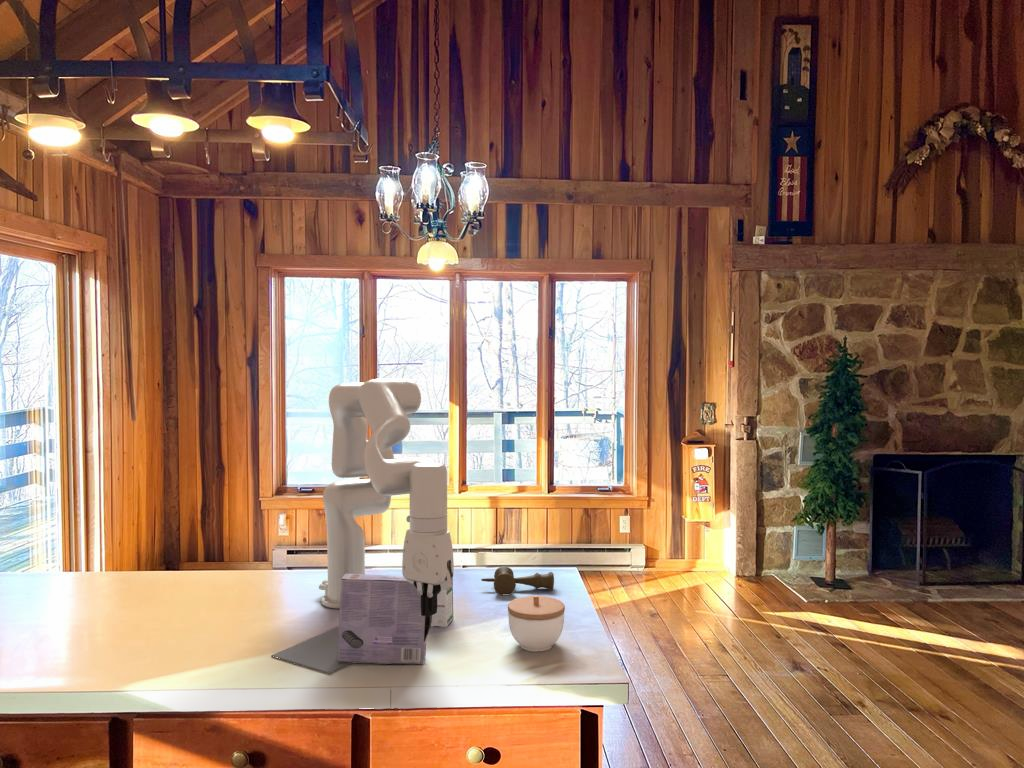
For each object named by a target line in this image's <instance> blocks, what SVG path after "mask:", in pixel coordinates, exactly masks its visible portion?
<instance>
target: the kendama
mask: <svg viewBox="0 0 1024 768" xmlns="http://www.w3.org/2000/svg"><path fill="white" fill-rule="evenodd" d="M480 580H481V581H482V582H493V589H494V591H495V593H496V594H498V595H499V596H504V595H503V594H510V595H512V594H513V593H514V591H515V590H516V586H517V584H518V585H525V586H530V587H533V588H534V589H536V590H538V589H541V588H543V589H548V590H549V591H553V590H554V586H555V576H554V572H552V571H549V572H547V573H546V574H543V573H538V572H535V574H532V575H527V576H521V577H520V576H519V577H515V576H514V571H513V570H512V568H511V567H509V566H500V567H498V568H496V570H495V572H494V575H493V578H492V577H491V578H490V577H489V578H481V579H480Z"/></svg>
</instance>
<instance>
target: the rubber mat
mask: <svg viewBox="0 0 1024 768" xmlns="http://www.w3.org/2000/svg"><path fill="white" fill-rule="evenodd" d="M338 632H339V625H338V626H336V627H334V628H332V629H329V630H326V631H324V632H322V633H320V634H317V635H315V636H313V637H311V638H308V639H306V640H303V641H302V642H298V643H296V644H294V645H291V646H290V647H287V648H285V649H282V650H280V651H277V652H276V653H273V654H271V657H272V656H274V657H278V658H280V659H283V660H285V661H284V662H287V661H288V662H287V663H290V662H291V663H290V664H293V663H295V664H294V665H296V664H298V665H297V666H300V667H303V666H304V668H306V667H307V668H306V669H309V670H312V671H313V670H314V671H316V672H319V673H323V674H326V675H332V674H333V673H336V672H338V671H339V670H341V669H343V668H346V667H347V666H349V665H351V664H353V663H355V662H338V660H337V651H338ZM280 659H279V660H280ZM283 660H282V661H283Z"/></svg>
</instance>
